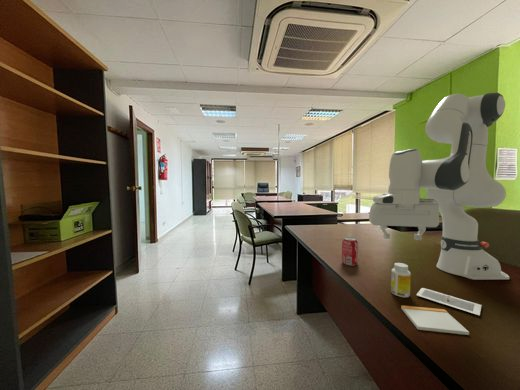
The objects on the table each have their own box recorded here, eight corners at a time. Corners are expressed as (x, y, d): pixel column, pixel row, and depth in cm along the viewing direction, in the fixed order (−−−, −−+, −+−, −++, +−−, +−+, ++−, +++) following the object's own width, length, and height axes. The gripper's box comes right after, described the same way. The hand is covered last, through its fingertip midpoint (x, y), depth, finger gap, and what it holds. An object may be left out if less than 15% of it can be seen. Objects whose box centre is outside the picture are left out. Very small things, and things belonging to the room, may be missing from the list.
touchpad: (479, 319, 62) (479, 311, 61) (415, 298, 73) (416, 291, 73) (481, 308, 67) (481, 301, 67) (421, 290, 78) (422, 284, 78)
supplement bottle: (413, 295, 73) (414, 266, 73) (403, 299, 71) (404, 269, 70) (397, 288, 78) (398, 260, 78) (387, 292, 76) (388, 263, 75)
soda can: (355, 261, 105) (355, 236, 105) (360, 266, 98) (360, 240, 98) (339, 260, 106) (340, 236, 105) (344, 266, 99) (344, 240, 98)
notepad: (444, 312, 64) (444, 309, 64) (469, 335, 55) (469, 331, 55) (401, 308, 66) (401, 305, 66) (417, 329, 57) (417, 325, 57)
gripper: (433, 197, 74) (431, 238, 75) (368, 197, 78) (367, 235, 79) (445, 199, 68) (442, 243, 69) (374, 198, 72) (372, 239, 72)
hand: (401, 239), depth 74 cm, fingers open, 8 cm apart
